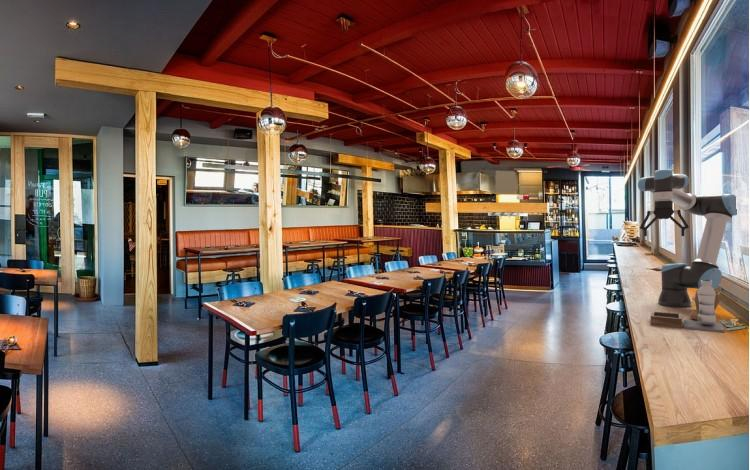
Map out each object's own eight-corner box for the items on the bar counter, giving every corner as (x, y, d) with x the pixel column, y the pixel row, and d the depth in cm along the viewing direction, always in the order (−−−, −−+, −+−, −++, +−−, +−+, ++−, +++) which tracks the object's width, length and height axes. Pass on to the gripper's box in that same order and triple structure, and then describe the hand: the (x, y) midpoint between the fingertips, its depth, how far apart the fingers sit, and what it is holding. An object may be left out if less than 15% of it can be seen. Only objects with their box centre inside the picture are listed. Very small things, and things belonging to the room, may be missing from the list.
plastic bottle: (720, 326, 185) (719, 281, 184) (704, 327, 185) (704, 281, 184) (708, 322, 191) (708, 279, 190) (693, 323, 191) (693, 279, 191)
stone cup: (719, 324, 191) (719, 292, 191) (687, 321, 200) (687, 289, 199) (722, 318, 202) (722, 287, 202) (691, 315, 211) (691, 285, 210)
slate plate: (683, 321, 199) (683, 319, 199) (721, 325, 190) (721, 323, 190) (683, 328, 187) (683, 326, 187) (724, 332, 179) (724, 330, 179)
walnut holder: (651, 319, 205) (651, 311, 205) (681, 322, 198) (681, 313, 198) (650, 324, 195) (650, 316, 195) (682, 327, 188) (682, 318, 188)
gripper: (633, 201, 214) (634, 243, 215) (695, 198, 200) (695, 243, 200) (634, 202, 220) (635, 242, 221) (694, 199, 206) (694, 242, 206)
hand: (663, 242), depth 211 cm, fingers open, 13 cm apart
